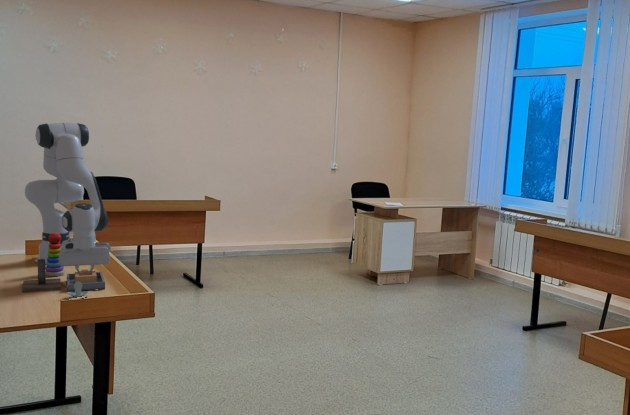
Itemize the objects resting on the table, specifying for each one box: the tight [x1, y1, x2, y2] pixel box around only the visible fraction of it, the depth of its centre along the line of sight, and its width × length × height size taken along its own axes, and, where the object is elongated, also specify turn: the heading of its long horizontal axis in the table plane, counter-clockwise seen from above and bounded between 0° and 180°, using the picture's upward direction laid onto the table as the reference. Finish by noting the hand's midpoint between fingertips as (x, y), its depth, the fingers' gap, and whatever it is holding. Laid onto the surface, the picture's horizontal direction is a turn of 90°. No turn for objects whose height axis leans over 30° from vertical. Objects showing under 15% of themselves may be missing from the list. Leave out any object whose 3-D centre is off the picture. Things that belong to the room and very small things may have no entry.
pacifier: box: [67, 282, 89, 298], centre depth 238 cm, size 7×6×6 cm
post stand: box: [21, 259, 62, 293], centre depth 251 cm, size 14×14×11 cm
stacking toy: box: [45, 232, 66, 277], centre depth 270 cm, size 8×8×19 cm
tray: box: [66, 271, 106, 293], centre depth 257 cm, size 18×14×3 cm
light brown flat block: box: [74, 268, 97, 283], centre depth 256 cm, size 12×8×3 cm, turn 23°
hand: (84, 275), depth 260 cm, fingers closed on light brown flat block, 2 cm apart
